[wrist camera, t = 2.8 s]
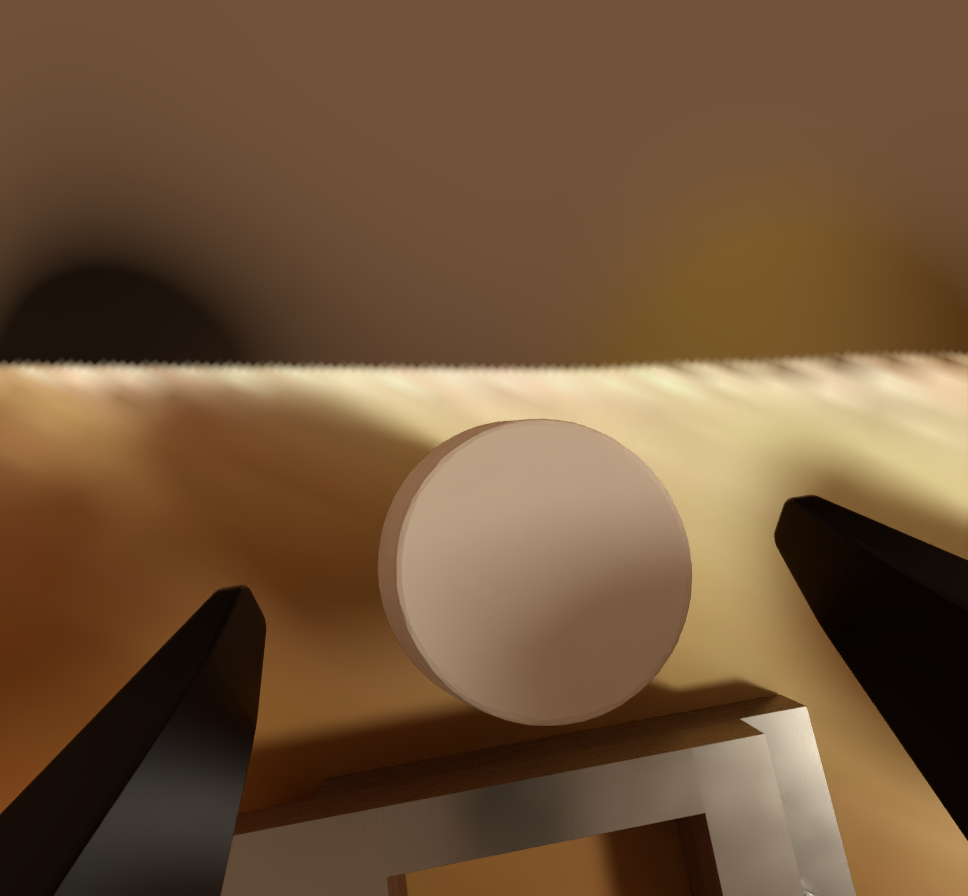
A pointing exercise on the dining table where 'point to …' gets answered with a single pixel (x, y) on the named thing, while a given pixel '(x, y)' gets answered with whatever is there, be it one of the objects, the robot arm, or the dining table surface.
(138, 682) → the robot arm
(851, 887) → the grey knobbed square frame
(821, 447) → the dining table surface
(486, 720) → the dining table surface
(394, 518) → the supplement bottle
